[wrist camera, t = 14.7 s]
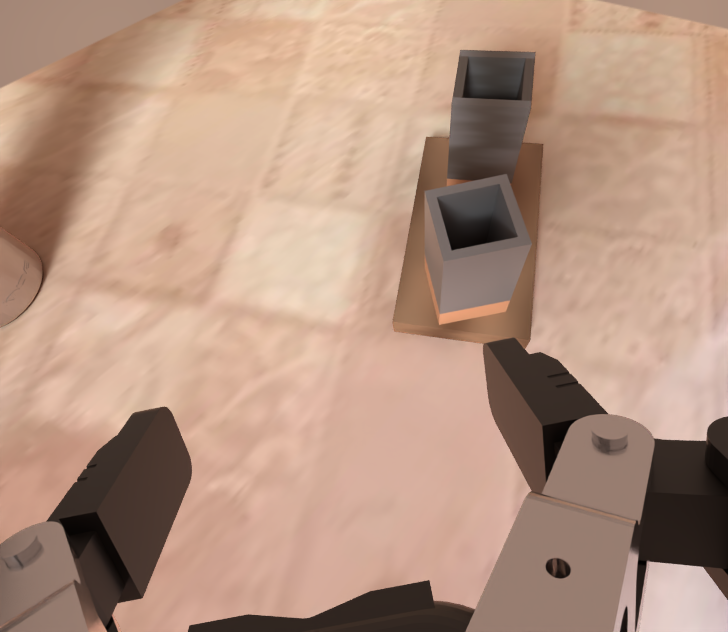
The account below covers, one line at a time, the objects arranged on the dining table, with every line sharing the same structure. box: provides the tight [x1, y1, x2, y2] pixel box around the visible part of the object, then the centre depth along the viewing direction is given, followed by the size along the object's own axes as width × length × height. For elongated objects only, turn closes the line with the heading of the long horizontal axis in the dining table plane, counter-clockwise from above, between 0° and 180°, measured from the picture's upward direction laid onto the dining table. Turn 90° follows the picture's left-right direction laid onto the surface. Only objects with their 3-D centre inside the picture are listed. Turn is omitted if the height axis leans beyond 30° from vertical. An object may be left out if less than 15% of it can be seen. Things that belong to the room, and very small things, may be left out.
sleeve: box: [425, 174, 532, 325], centre depth 32 cm, size 5×5×10 cm
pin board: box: [393, 50, 543, 349], centre depth 35 cm, size 10×18×12 cm, turn 169°
